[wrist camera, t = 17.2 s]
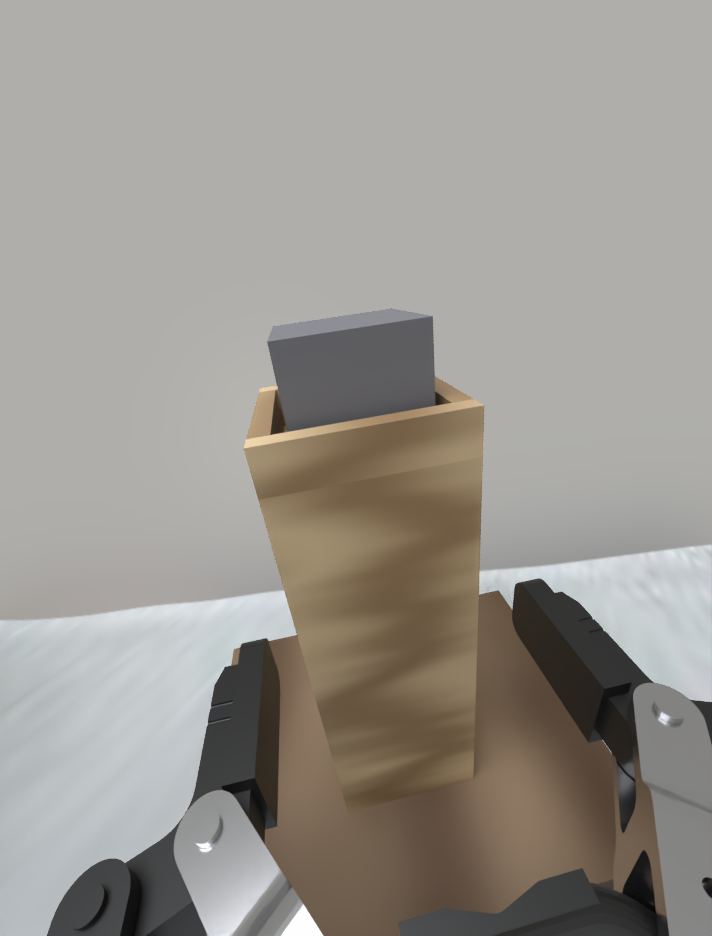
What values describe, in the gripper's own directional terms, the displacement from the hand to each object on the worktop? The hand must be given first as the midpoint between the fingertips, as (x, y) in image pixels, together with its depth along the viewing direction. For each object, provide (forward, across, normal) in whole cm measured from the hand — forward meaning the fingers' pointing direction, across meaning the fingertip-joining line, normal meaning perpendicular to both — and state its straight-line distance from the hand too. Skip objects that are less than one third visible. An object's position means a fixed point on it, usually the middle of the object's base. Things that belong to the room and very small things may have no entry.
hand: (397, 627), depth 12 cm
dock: (+2, 0, -10) cm, 11 cm away
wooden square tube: (+1, 0, -8) cm, 8 cm away
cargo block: (+2, 0, +6) cm, 6 cm away
